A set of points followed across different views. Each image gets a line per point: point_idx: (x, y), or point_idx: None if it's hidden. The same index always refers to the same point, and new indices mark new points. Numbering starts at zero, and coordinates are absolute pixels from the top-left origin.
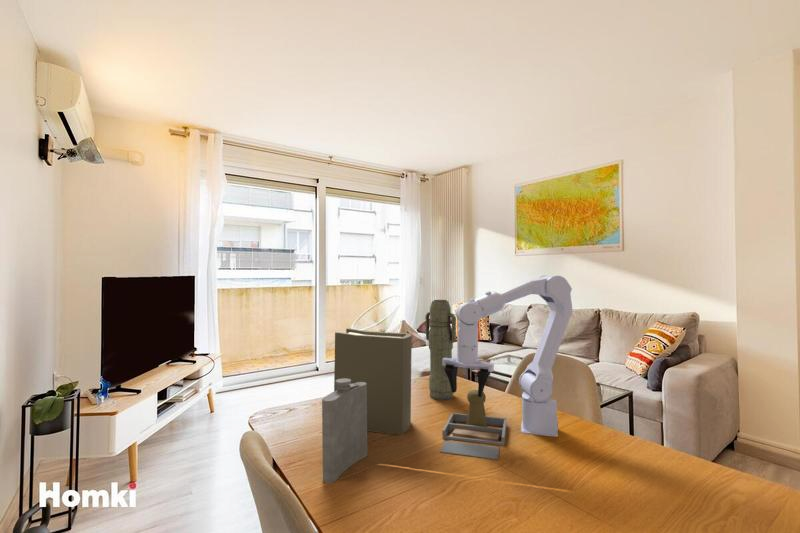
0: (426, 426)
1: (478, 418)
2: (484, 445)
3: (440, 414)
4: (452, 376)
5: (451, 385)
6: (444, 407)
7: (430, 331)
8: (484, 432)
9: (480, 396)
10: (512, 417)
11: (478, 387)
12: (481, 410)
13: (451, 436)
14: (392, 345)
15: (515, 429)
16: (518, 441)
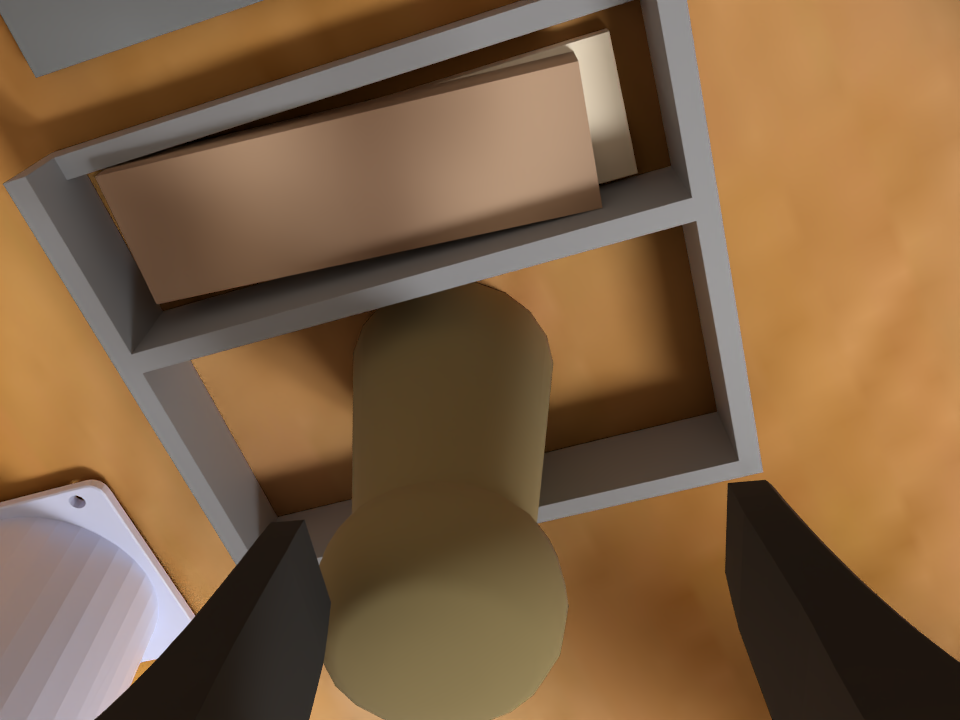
0: (950, 187)
1: (388, 385)
2: (174, 29)
3: (895, 501)
4: (856, 711)
5: (812, 553)
6: None
7: None
8: (290, 260)
9: (267, 530)
10: (324, 693)
11: (243, 627)
12: (360, 469)
13: (566, 7)
14: None
15: (189, 525)
16: (33, 334)
